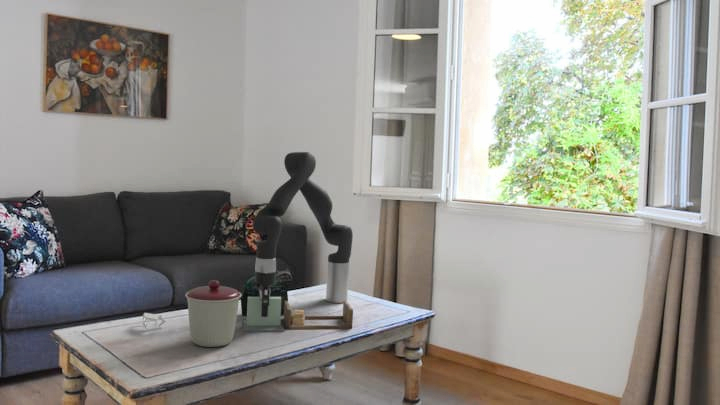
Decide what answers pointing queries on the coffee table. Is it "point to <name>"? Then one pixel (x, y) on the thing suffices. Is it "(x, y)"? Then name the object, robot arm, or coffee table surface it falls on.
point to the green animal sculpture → (276, 289)
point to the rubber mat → (262, 328)
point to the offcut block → (298, 318)
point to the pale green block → (256, 309)
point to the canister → (212, 314)
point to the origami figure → (152, 317)
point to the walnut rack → (346, 317)
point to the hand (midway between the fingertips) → (263, 313)
